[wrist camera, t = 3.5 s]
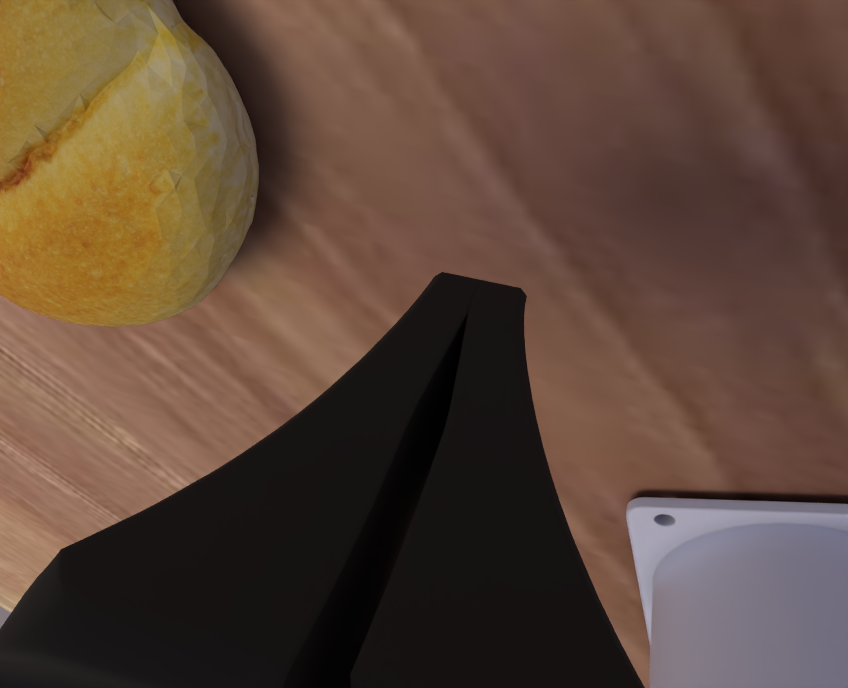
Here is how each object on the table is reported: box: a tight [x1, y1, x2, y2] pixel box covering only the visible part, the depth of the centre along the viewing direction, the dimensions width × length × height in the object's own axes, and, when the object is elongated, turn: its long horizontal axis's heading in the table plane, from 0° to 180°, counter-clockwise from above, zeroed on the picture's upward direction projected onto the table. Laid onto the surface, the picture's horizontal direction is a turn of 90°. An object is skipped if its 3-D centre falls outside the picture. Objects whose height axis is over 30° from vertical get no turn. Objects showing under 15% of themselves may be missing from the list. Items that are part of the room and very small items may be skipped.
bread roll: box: [0, 0, 259, 326], centre depth 15 cm, size 8×9×4 cm
